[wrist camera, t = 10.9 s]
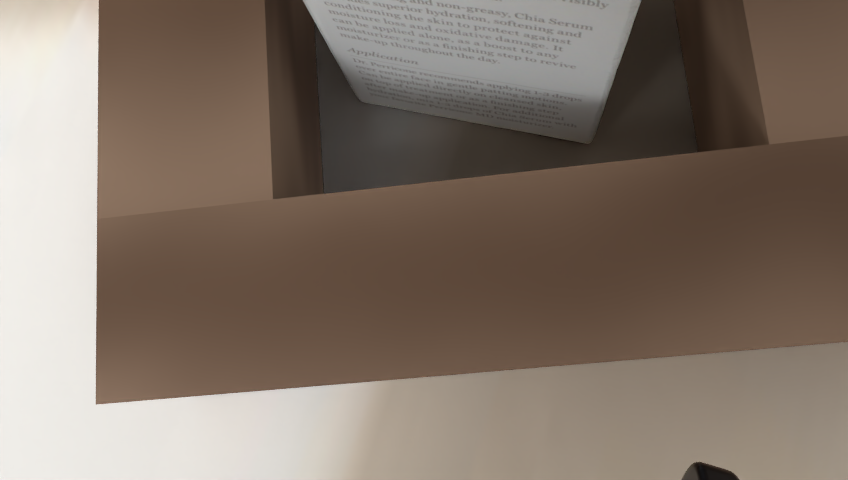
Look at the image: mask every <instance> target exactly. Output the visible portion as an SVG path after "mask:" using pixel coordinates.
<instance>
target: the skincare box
mask: <svg viewBox="0 0 848 480" xmlns="http://www.w3.org/2000/svg"><path fill="white" fill-rule="evenodd" d="M303 2H304V3H305V5H306V7H307V9H308V11H309V12H310V14H311V16H312V18H313V20H314V21H315V23H316V25H317V27H318V29H319V31H320V32H321V34H322V36H323V38H324V39H325V41H326V43H327V45H328V47H329V49H330V51H331V52H332V54H333V56H334V57H335V59H336V61H337V63H338V65H339V66H340V68H341V70H342V72H343V73H344V75H345V77H346V79H347V81H348V83H349V84H350V86H351V88H352V90H353V91H354V93H355V95H356V97H357V98H358V99H359V100H360V101H361V102H363V103H369V104H376V105H382V106H387V107H392V108H397V109H403V110H408V111H413V112H419V113H424V114H429V115H435V116H440V117H446V118H451V119H456V120H461V121H467V122H472V123H478V124H484V125H489V126H495V127H500V128H505V129H511V130H517V131H522V132H528V133H533V134H538V135H544V136H550V137H554V138H559V139H564V140H570V141H575V142H580V143H591V142H592V140H593V138H594V136H595V133H596V131H597V128H598V125H599V122H600V119H601V116H602V113H603V110H604V107H605V104H606V101H607V98H608V95H609V92H610V89H611V86H612V83H613V80H614V77H615V74H616V71H617V68H618V66H619V63H620V61H621V58H622V55H623V52H624V49H625V46H626V44H627V41H628V38H629V35H630V32H631V29H632V26H633V23H634V20H635V17H636V14H637V11H638V9H639V6H640V3H641V0H303Z"/></svg>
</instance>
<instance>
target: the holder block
mask: <svg viewBox="0 0 848 480" xmlns="http://www.w3.org/2000/svg"><path fill="white" fill-rule="evenodd" d="M674 5H675V12H676V18H677V24H678V30H679V36H680V42H681V48H682V54H683V60H684V66H685V73H686V79H687V85H688V91H689V97H690V103H691V109H692V115H693V121H694V128H695V134H696V140H697V146H698V152H696V153H687V154H678V155H669V156H660V157H651V158H642V159H633V160H624V161H615V162H606V163H597V164H588V165H579V166H570V167H561V168H552V169H543V170H534V171H525V172H516V173H507V174H498V175H489V176H480V177H471V178H462V179H453V180H444V181H435V182H426V183H417V184H408V185H399V186H390V187H380V188H371V189H362V190H353V191H344V192H335V193H326V194H324V189H323V171H322V153H321V135H320V118H319V100H318V82H317V64H316V47H315V29H314V20H313V18H312V16H311V14H310V12H309V11H308V9H307V7H306V5H305V3H304V2H303V0H99V52H98V185H97V318H96V404H106V403H118V402H130V401H142V400H154V399H166V398H178V397H190V396H202V395H214V394H226V393H238V392H250V391H262V390H274V389H286V388H298V387H310V386H322V385H334V384H346V383H358V382H370V381H381V380H393V379H405V378H417V377H429V376H441V375H453V374H465V373H477V372H489V371H501V370H513V369H525V368H537V367H549V366H561V365H573V364H585V363H597V362H609V361H621V360H633V359H645V358H657V357H669V356H681V355H693V354H705V353H717V352H729V351H741V350H753V349H765V348H777V347H789V346H801V345H813V344H825V343H837V342H848V0H674Z"/></svg>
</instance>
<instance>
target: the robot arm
mask: <svg viewBox="0 0 848 480" xmlns="http://www.w3.org/2000/svg"><path fill="white" fill-rule="evenodd" d="M681 480H739V479H738V477H737V476H736V475H735V474H734V473H732V472H731V471H729V470H725V469H722V468H719V467H715V466H712V465H709V464H706V463H702V462H696V463H693V464H692V465H691V466H690V467H689V468H688V469H687V471H686V473H685V474H684V476H683V478H682V479H681Z"/></svg>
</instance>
